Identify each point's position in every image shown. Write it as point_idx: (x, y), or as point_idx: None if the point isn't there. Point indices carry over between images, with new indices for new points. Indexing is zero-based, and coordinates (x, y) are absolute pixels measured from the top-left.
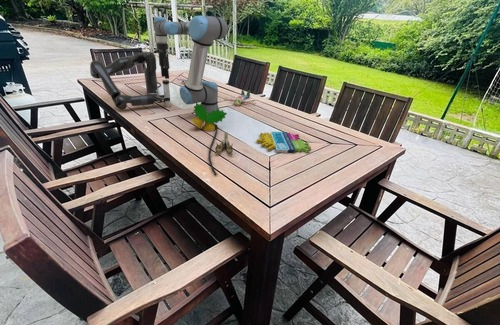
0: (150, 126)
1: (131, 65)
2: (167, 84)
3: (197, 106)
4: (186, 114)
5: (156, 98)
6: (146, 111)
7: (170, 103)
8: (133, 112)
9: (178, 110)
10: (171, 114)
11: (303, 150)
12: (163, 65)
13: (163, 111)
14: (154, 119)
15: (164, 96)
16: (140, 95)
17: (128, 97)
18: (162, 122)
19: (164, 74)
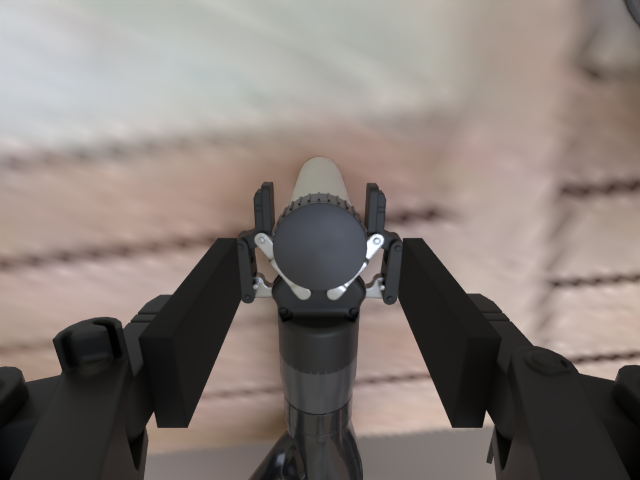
0: (612, 373)
1: None
2: None
3: None
4: (580, 129)
5: (353, 294)
6: (379, 332)
7: (332, 162)
8: (363, 389)
9: (465, 148)
10: (514, 223)
11: None
12: (120, 398)
13: (430, 248)
14: (533, 333)
15: None
16: (320, 405)
17: (337, 470)
18: (604, 312)
19: (229, 270)
